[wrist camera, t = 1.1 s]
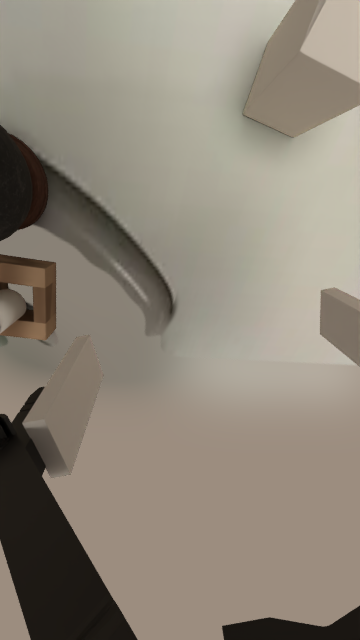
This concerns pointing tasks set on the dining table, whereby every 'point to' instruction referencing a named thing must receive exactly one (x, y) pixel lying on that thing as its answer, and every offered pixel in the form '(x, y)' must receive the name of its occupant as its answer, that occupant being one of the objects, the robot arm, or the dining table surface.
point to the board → (44, 295)
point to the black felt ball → (19, 185)
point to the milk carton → (309, 67)
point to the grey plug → (10, 308)
